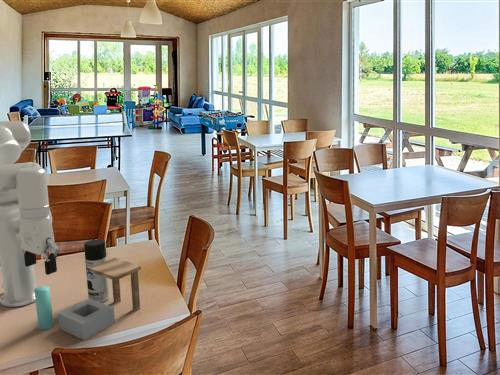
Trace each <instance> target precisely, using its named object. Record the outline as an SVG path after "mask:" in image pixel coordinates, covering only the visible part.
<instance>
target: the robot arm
mask: <svg viewBox="0 0 500 375" xmlns="http://www.w3.org/2000/svg"><path fill="white" fill-rule="evenodd" d="M31 139H32V134H31V131H30V128H29V126H28V125H27V123H25V122H23V121H22V120H5V121H4V120H3V121H0V271H1V279H2V284H1V288H2V289H3V293H4V294H2V295H1V296H0V305H1V306H4V307H7V308H18V307H24V306H27V305H30V304H33V303H36V301H35V292H34V290H35V289H36V288H37V282H36V275H35V267H34V265H36V264H37V257H36V255H38V256H40V255H42V256H43V258H44V260H45V261H43V262H44V270H45V272H44V273H45V275H47V276H49V275H51V274H53V273H56V272H58V269H57V268H58V266H57V259H58V255H59V250H60V247H59V246H58V244H56V243H55V235H54V229H53V216H52V212H51V209H50V202H49V201H50V200H49V191H48V182H47V181H48V180H47V172H46V170H45V169H44V168H43V167H42V166H41V165H40V164H39V163H37V162H34V161H33V162H31V161H30V162H20V163H16V162H17V161H18V160H19V159H20V157H21V155H22V152H23V151H24V150H25V149H26V148H28V146H29V145H30V143H31ZM48 253H49V255H48Z"/></svg>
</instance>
